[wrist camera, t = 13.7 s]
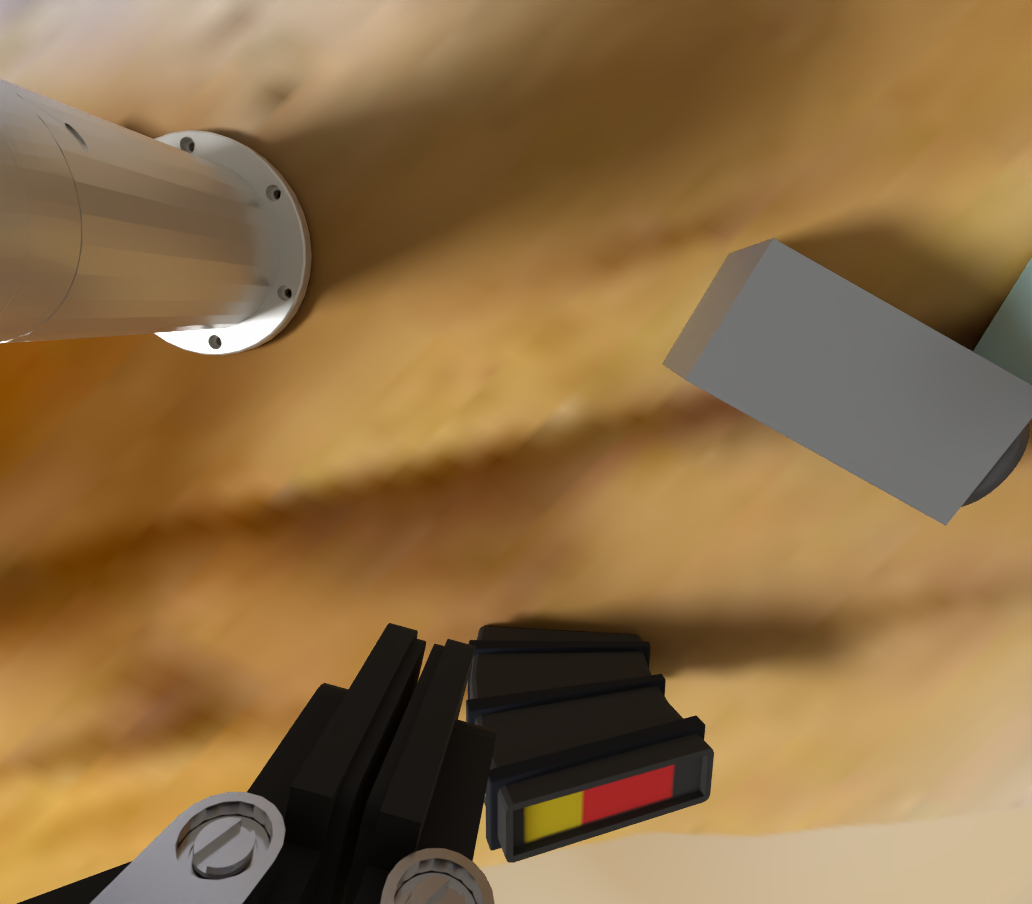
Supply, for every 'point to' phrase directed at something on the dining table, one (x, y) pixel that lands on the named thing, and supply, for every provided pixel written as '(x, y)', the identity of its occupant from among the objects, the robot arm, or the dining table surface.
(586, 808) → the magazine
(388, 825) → the robot arm
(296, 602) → the dining table surface
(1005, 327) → the side door
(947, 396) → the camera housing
